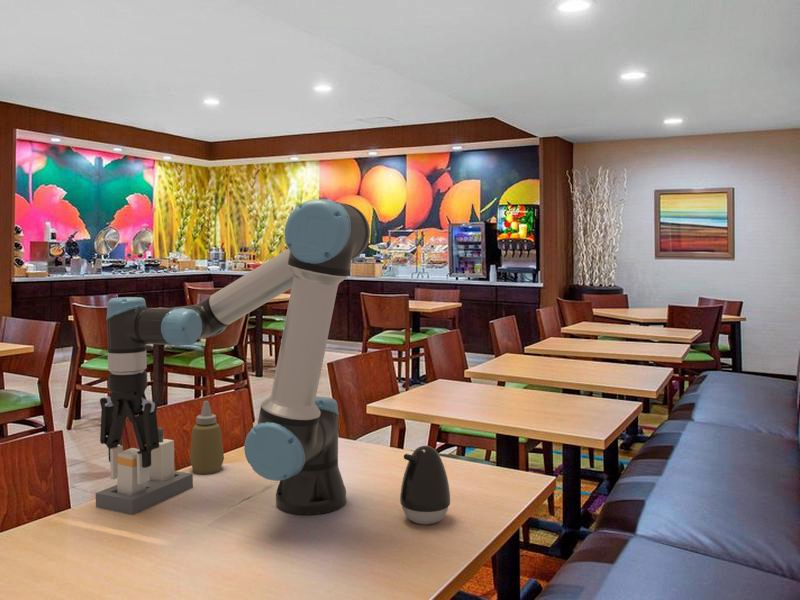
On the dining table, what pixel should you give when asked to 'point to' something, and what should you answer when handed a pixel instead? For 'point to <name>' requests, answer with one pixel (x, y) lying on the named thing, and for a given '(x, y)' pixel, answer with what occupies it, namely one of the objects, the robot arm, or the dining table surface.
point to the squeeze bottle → (206, 443)
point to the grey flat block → (144, 494)
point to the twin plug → (162, 460)
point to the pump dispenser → (425, 487)
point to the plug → (128, 473)
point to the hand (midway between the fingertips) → (130, 479)
